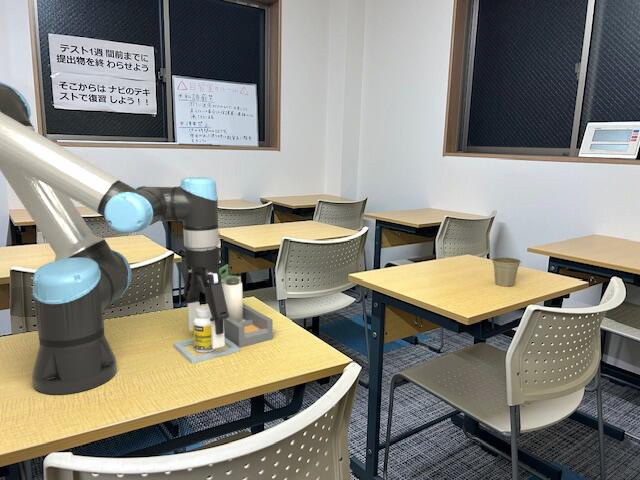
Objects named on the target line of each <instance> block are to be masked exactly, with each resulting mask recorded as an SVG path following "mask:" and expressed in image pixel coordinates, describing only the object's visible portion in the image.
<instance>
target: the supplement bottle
mask: <svg viewBox="0 0 640 480" xmlns="http://www.w3.org/2000/svg"><path fill="white" fill-rule="evenodd" d="M196 316H197V317H195V318H194V320H193V331H192V332H193V339H194V344H193V349H194V351H195V352H197V353H201V354H202V353H203V354H208V353H212V352H216V351H217V349H218V348H214V349H213V348H212V339H211V321H210V318H211V317H212V315H211V312H210V309H209V306H208V305H202V306H200V307H198V308H196Z"/></svg>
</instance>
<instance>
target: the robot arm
mask: <svg viewBox="0 0 640 480" xmlns="http://www.w3.org/2000/svg"><path fill="white" fill-rule="evenodd" d="M31 115H32V113H31V107H30V104H29V103H28V101H27V99H26V97H24V95H23V94H22V93H21V92H20V91H19V90H17V89H16V88H14V87H13V86H11V85H9V84H7V83H5V82H2V81H0V172H1V173H2V175H3V177H4V178H5V180H6V182H7V183H8V185H10V188H11V189H12V190H13V192H14V194H16V196H17V198H18V199H19V201H20V203H21V204H22V205H23V207H24V209H25V210H26V211H27V213H28V214H29V217H31V219H32V220H33V222H34V224H35V225H36V226H37V228H38V230H39V231H40V232H41V234H42V235H43V237H44V239H45V240H46V242H47V244H48V245H49V247H50V248H51V249H52V251H53V252H54V255H55V257H54V260H53V261H50V262H48V263H45V264H43V265H42V266H40V267H39V268H38V269H37V270H36V271H35V272H34V273H33V277H32V283H33V284H32V285H33V286H32V296H33V299H34V308H35V314H36V317H35V318H36V325H37V326H36V327H37V332H38V333H37V334H38V343H39V347H38V352H37V355H36V360H35V363H34V367H33V371H32V375H31V376H32V383H33V388H34V389H35V390H36V391H37V390H38V391H37V392H39V391H40V392H39V393H42V394H48V395H67V394H68V395H69V394H75V393H80V392H83V391H88V390H90V389H94V388H96V387H98V386H100V385H103V384H106V383H107V382H109V381H110V380H111V379H112V378H113V377H114V376H115V375H116V373H117V371H118V368H117V359H116V356H115V355H114V352H113V350H112V348H111V345H110V344H109V342H108V340H107V337H106V335H105V334H106V333H105V324H104V320H105V319H104V310H105V309H106V308H108V307H109V306H110V305H111V304H112V303H114V302H116V301H118V300H119V299H120V298H121V297H122V296H123V295H124V294H125V292H126V290H128V288H129V286H130V284H131V281H132V267H131V265H130V263H129V261H128V260H127V259H126V257H125V256H124V255H123V254H121V253H120V252H118V251H116V250H113V249H111V247H110V246H109V244H108V242H107V241H106V239H105V238H104V237H101V236H97V235H94V233H93V232H92V230H91V229H90V228H89V226H88V224H87V223H86V221H85V219H84V218H83V216H82V215H81V213H80V212H79V210H78V209H77V207H76V205H75V204H74V202H73V201H72V200H74V201H75V202H77V203H79V204H81V205H82V206H85V207H86V208H87V209H90V210H92V211H93V212H95V213H97V214H99V215H100V216H102V217H104V218H105V221H106V222H107V224H108V226H109V227H110V228H111V229H112V230H114V231H115V232H117V233H120V234H133V233H138V232H141V231H143V230H145V229H147V228H148V226H152V225H154V224H155V223H157V222H181V221H182V225H183V226H182V227H183V246H184V247H186V248H185V249H184V263H185V265H186V272H185V274H186V275H185V279H184V287H183V293H182V296H183V298H184V299H185V301H186V303H187V322H188V323H187V324H188V330H189V331H192V330H193V320H194V318H195V317H197V316H196V308H198V307H201V306H200V302H199V301H201V298H200V294H201V293H202V294H204V295H205V296H204V297H205V299H206V302H207V306H209V309H210V312H211V315H212V317H211V318H210V321H211V339H212V348H213V349H214V348H217V349H218V348H222V347H225V346H226V345H225V340H224V319H225V318H229V314H228V309H227V305H226V301H225V296H224V292H223V288H222V283H221V274H222V273H221V274H220V273H219V272H216V273H215V270H214V267H215V266H217V265H218V264H219V263H220V259H221V258H220V248H219V247H218V246H219V242H220V241H219V237H220V234H221V232H220V230H219V212H218V208H219V207H218V206H219V203H218V201H219V200H218V199H219V198H218V194H217V193H218V192H217V191H218V190H217V183H216V180H215V179H214V178H212V177H210V176H209V177H208V176H207V177H205V176H202V177H201V176H199V177H198V176H197V177H184V178H182V179H181V181H180V182H181V183H180V186H146V185H145V186H144V185H143V186H130V185H129V184H127V183H125V182H123V181H121V180H120V179H118V178H116V177H115V176H113V175H112V174H110V173H108V172H106V171H104V170H103V169H101V168H99V167H97V166H96V165H94V164H92V163H90V162H89V161H87V160H85V159H83V158H82V157H81V156H79V155H77V154H75V153H73V152H71V151H70V150H68V149H66V148H65V147H62V146H61V145H59V144H58V143H55V142H54V141H52V140H50V139H49V138H47V137H46V136H43V135H42V134H40V133H39V132H37V131H36V129H35V128H34V126H33V124H32V123H31Z"/></svg>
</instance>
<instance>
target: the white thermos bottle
mask: <svg viewBox="0 0 640 480" xmlns="http://www.w3.org/2000/svg"><path fill="white" fill-rule="evenodd" d="M223 292H224V296H225V301H226V305H227V309H228V314H229V317H231V318H232V319H234V320H235V321H237V322H242V321H243V304H244V302H243V301H244V300H243V299H244V298H243V282H242V281H241V282H239V279H237V278H230V279H227V280H226V282H225V283H223Z"/></svg>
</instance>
